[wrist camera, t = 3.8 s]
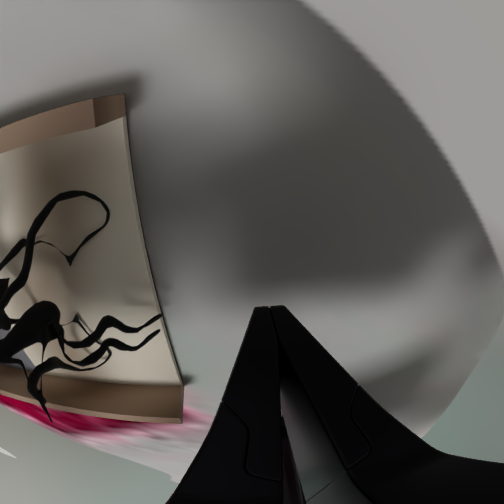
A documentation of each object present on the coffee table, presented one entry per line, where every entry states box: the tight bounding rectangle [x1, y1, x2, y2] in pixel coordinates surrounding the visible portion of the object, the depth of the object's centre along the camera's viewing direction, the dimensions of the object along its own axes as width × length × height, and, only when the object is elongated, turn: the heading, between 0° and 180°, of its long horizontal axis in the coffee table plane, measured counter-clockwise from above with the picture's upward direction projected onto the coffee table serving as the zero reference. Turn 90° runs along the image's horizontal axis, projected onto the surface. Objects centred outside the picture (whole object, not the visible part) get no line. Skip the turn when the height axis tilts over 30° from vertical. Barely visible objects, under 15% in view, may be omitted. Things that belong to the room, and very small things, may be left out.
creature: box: [0, 190, 162, 422], centre depth 7 cm, size 8×5×8 cm
